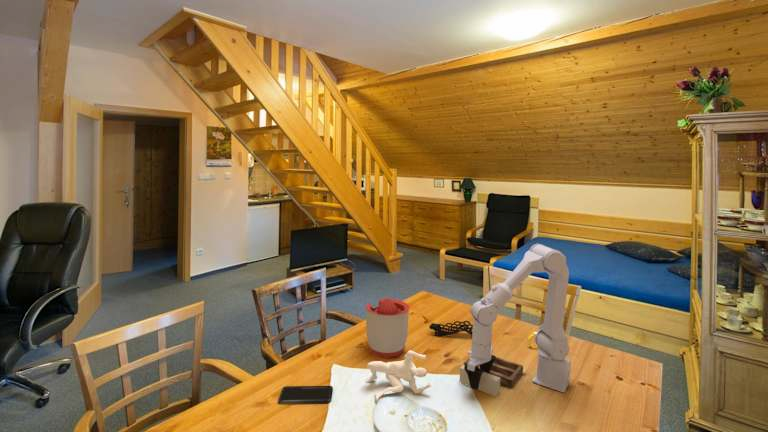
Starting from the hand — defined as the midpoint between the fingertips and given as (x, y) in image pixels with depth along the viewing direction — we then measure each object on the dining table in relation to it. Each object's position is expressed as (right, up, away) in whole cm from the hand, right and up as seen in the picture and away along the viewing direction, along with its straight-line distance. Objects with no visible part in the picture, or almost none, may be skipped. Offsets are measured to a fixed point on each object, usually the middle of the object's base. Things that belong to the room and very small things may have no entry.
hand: (479, 382), depth 121 cm
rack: (+7, 0, +9) cm, 11 cm away
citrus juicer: (-29, +2, +23) cm, 37 cm away
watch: (+28, +2, +27) cm, 39 cm away
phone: (-52, -2, -6) cm, 52 cm away
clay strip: (0, -2, 0) cm, 2 cm away
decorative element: (0, +3, +36) cm, 36 cm away
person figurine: (-25, -2, -1) cm, 25 cm away
